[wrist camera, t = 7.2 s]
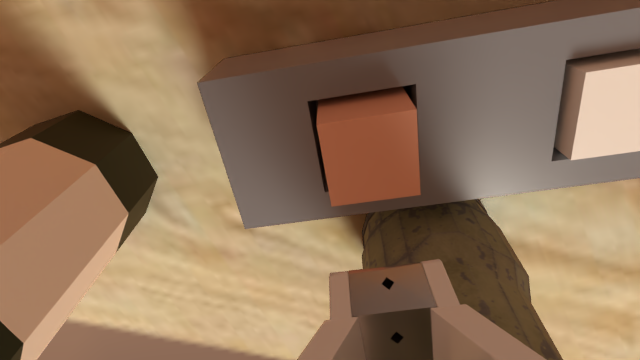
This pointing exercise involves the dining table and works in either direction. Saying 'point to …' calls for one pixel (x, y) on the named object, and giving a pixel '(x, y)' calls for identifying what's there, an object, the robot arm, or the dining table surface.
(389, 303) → the robot arm
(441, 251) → the thermos
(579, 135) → the pale key
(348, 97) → the clay key
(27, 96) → the dining table surface
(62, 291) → the wine bottle
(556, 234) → the dining table surface
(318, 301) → the dining table surface
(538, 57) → the key panel
